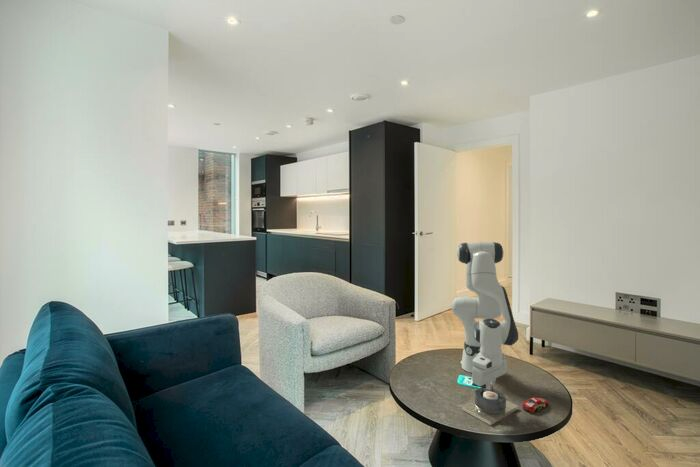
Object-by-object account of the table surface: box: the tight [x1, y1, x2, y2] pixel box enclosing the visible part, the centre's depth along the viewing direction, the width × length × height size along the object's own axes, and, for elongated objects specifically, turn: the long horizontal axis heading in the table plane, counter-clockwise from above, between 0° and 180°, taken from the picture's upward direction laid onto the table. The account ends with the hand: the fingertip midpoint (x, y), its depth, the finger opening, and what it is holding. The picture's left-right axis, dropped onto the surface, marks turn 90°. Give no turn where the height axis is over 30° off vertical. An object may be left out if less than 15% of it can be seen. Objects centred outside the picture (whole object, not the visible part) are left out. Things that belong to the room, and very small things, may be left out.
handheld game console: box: [456, 374, 486, 390], centre depth 176 cm, size 10×16×1 cm, turn 63°
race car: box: [522, 396, 549, 414], centre depth 154 cm, size 13×5×4 cm, turn 118°
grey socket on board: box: [461, 388, 519, 426], centre depth 153 cm, size 20×14×6 cm
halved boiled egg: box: [483, 391, 498, 400], centre depth 153 cm, size 6×6×4 cm
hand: (490, 388), depth 153 cm, fingers closed
